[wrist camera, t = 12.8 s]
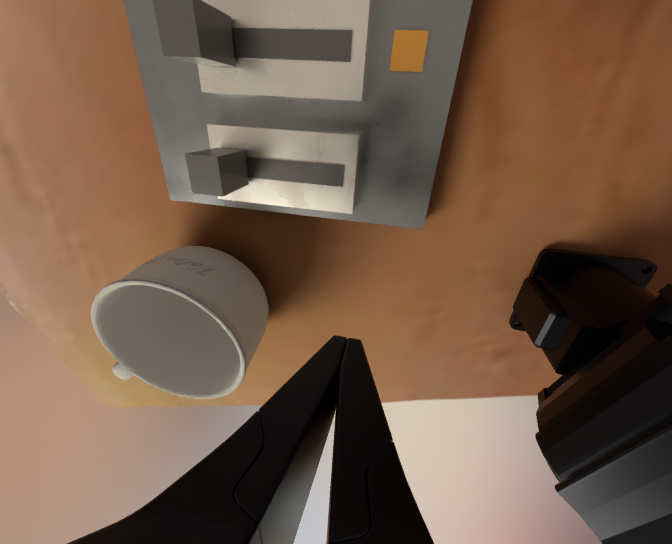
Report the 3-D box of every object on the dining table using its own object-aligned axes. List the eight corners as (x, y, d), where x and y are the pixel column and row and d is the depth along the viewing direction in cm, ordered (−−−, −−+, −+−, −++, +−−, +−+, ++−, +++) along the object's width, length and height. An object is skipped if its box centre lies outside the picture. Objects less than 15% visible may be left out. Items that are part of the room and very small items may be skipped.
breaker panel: (519, -242, 11) (550, -336, 8) (421, 221, 20) (424, 235, 17) (101, -195, 13) (41, -258, 11) (183, 194, 22) (159, 203, 20)
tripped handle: (230, 16, 14) (191, -6, 11) (235, 66, 15) (201, 57, 12) (196, 16, 14) (151, -6, 12) (203, 65, 15) (163, 56, 13)
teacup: (241, 213, 22) (169, 258, 15) (304, 322, 26) (270, 396, 19) (127, 264, 27) (34, 316, 20) (195, 349, 31) (136, 416, 24)
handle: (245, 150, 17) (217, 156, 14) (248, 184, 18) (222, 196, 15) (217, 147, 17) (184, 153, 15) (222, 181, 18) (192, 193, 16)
